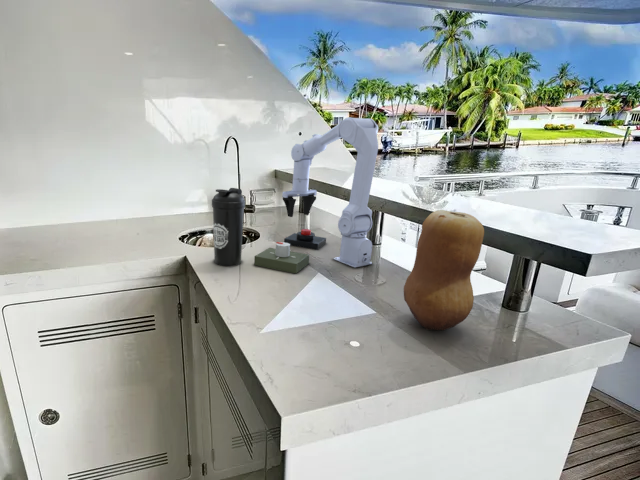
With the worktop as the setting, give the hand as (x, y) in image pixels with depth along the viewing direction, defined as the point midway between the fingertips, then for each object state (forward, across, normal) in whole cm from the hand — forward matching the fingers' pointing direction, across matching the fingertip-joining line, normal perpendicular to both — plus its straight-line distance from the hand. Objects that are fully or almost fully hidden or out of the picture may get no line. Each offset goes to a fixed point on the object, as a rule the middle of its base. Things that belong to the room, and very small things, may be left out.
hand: (298, 215), depth 142 cm
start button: (+6, -1, +4) cm, 8 cm away
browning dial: (+7, +21, +19) cm, 29 cm away
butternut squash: (+10, +16, +67) cm, 70 cm away
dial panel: (+10, +21, +19) cm, 30 cm away
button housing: (+10, -1, +4) cm, 11 cm away
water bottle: (+10, +35, +9) cm, 38 cm away
